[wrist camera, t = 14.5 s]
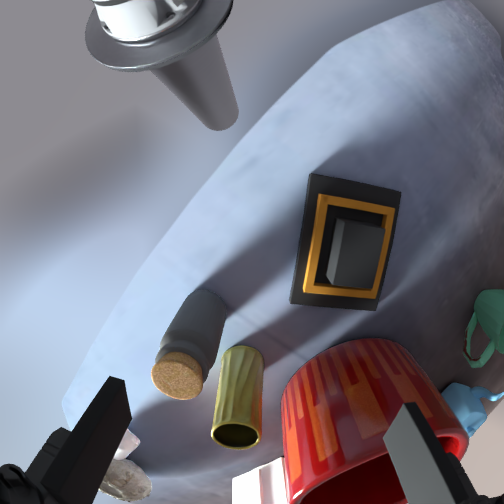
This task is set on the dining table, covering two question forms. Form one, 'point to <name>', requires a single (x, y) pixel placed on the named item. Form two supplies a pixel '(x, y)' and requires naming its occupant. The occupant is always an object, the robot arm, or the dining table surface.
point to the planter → (356, 422)
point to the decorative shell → (126, 481)
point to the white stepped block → (262, 485)
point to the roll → (126, 445)
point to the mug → (487, 325)
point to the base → (320, 233)
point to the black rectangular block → (354, 253)
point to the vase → (239, 399)
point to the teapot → (468, 404)
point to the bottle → (190, 346)
